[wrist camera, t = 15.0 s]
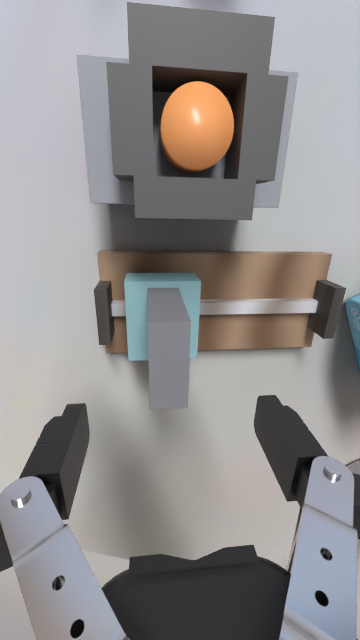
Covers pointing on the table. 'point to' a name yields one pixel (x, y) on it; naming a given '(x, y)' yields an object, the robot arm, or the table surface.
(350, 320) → the data package
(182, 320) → the carriage
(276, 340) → the rail base
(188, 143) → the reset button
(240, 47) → the grey dispenser housing
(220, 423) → the table surface
